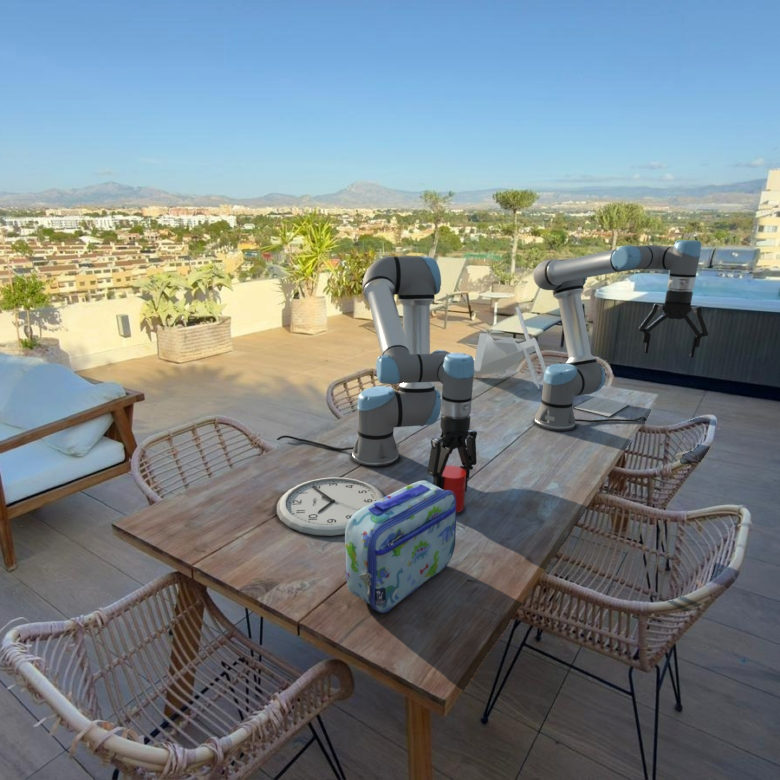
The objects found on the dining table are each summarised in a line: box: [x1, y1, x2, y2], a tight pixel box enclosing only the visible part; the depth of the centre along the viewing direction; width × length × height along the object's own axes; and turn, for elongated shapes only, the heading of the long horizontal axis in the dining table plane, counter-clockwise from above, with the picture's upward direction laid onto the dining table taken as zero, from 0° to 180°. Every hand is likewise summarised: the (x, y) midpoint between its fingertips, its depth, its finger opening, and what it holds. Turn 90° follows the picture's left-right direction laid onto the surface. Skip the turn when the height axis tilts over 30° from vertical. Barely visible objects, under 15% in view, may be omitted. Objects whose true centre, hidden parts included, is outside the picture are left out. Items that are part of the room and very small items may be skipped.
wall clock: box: [276, 476, 386, 537], centre depth 142 cm, size 30×2×30 cm
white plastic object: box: [473, 306, 547, 390], centre depth 260 cm, size 37×45×31 cm
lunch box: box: [344, 480, 457, 614], centre depth 109 cm, size 26×11×21 cm, turn 135°
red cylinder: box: [442, 465, 466, 514], centre depth 140 cm, size 8×8×10 cm
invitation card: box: [573, 396, 629, 418], centre depth 226 cm, size 21×1×15 cm
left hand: (450, 493), depth 141 cm, fingers closed on red cylinder, 7 cm apart
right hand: (668, 354), depth 175 cm, fingers open, 13 cm apart
